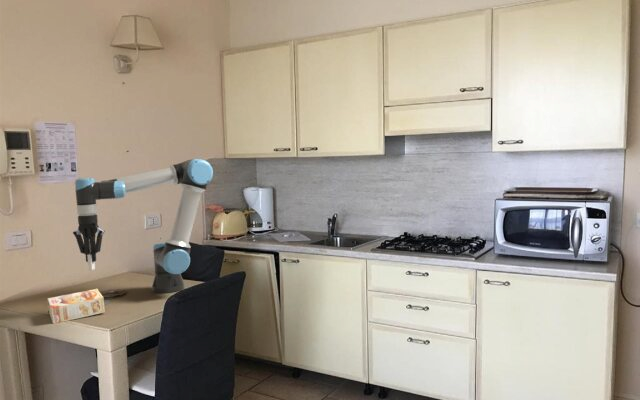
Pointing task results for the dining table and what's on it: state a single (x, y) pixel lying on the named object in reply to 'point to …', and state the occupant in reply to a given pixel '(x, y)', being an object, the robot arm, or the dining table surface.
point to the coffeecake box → (75, 305)
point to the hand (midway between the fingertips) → (91, 269)
